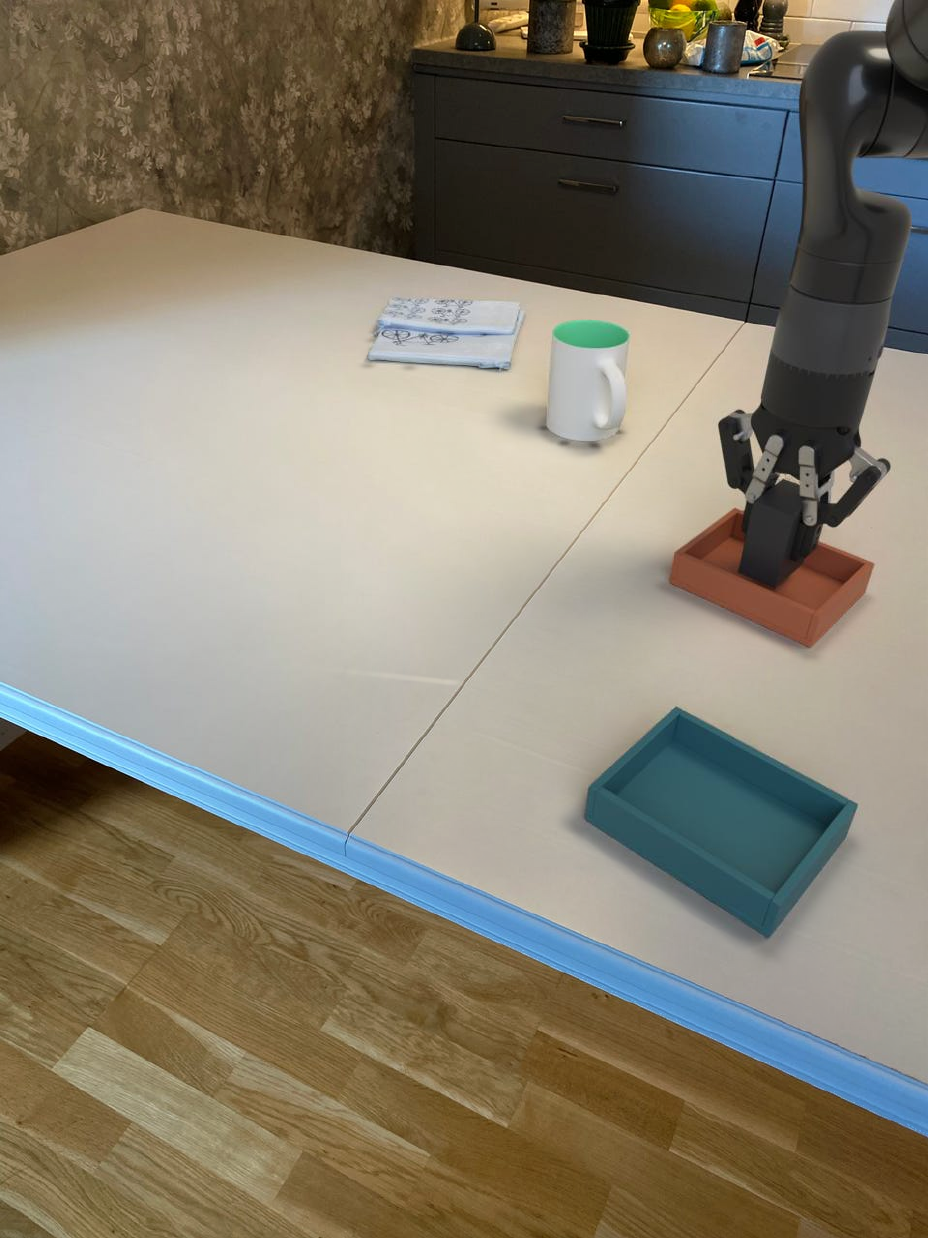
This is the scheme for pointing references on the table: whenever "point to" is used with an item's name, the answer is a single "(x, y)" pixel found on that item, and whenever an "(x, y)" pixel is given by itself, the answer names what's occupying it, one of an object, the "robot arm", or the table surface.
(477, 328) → the light blue folded towel
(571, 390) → the mug
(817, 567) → the terracotta bin
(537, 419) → the table surface
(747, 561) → the block
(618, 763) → the teal bin
